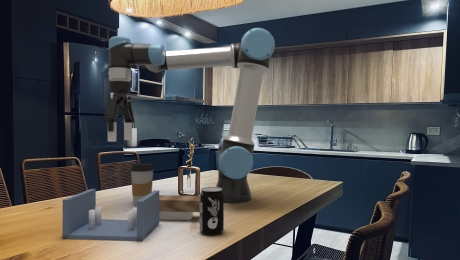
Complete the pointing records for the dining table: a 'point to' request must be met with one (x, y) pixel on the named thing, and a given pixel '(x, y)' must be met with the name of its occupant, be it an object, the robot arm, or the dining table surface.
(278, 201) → the dining table surface
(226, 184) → the robot arm
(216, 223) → the beverage can
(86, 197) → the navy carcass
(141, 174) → the coffee cup
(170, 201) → the walnut board
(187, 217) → the block
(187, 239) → the dining table surface
